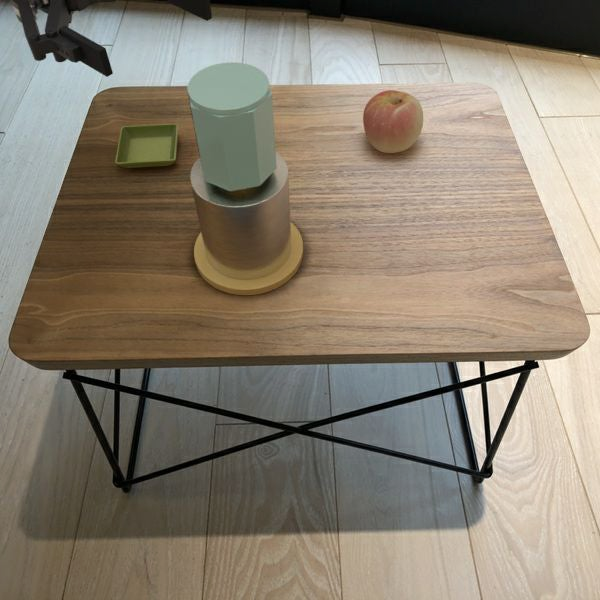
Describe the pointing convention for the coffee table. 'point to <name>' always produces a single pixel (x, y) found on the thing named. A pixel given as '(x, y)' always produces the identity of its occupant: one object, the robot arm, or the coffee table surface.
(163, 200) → the coffee table surface
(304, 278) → the coffee table surface
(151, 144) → the saucer
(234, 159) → the jar
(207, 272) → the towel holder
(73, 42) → the robot arm
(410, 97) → the apple
